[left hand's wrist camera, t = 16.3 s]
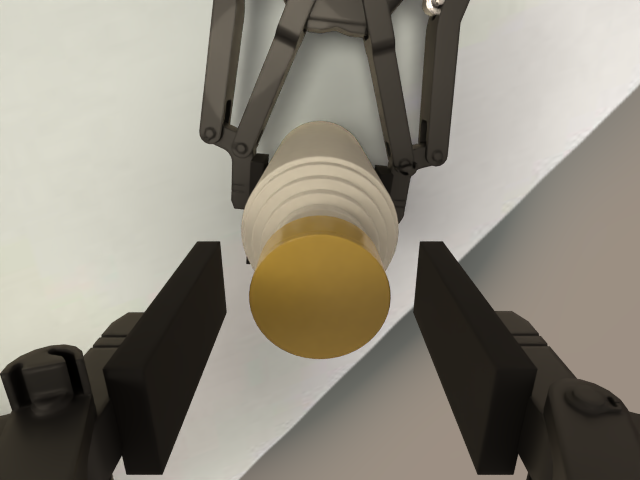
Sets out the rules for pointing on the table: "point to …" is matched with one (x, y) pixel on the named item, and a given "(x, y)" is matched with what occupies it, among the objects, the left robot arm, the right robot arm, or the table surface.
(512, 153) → the table surface
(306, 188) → the bottle
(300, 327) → the cap
